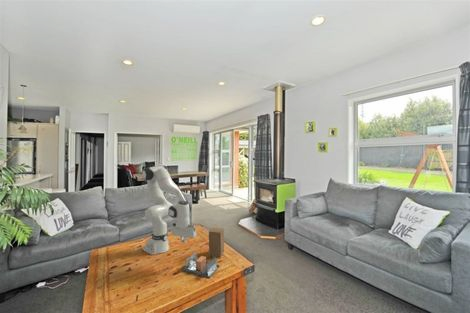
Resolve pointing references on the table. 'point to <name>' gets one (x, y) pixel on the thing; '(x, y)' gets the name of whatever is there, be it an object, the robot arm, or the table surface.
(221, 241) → the wooden block
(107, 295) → the table surface
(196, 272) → the vise base
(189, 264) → the sliding jaw
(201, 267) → the rust block
